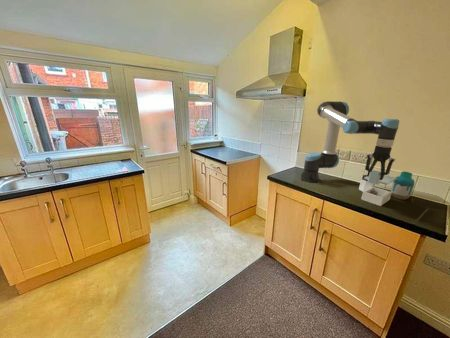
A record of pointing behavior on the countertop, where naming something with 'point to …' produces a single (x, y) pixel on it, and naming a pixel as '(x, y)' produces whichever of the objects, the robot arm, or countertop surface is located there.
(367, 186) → the jar
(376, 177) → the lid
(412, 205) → the countertop surface
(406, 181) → the green capped bottle
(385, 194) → the tub
